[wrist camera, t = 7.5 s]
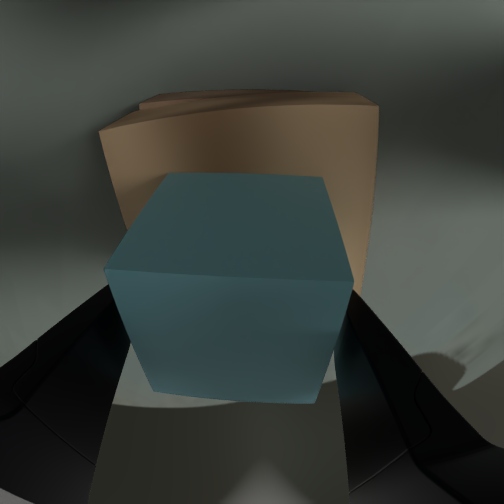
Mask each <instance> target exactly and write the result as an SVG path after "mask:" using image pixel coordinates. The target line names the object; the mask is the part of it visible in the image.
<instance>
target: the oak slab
mask: <svg viewBox="0 0 504 504" xmlns="http://www.w3.org/2000/svg"><path fill="white" fill-rule="evenodd" d="M378 127H379V106H378V105H376V104H375V103H373V102H371V101H370V100H368V99H366V98H365V97H363V96H361V95H359V94H358V93H356V92H287V93H267V94H253V95H241V96H230V97H221V98H212V99H204V100H197V101H190V102H183V103H177V104H171V105H165V106H160V107H154V108H149V109H144V110H139V111H134V112H131V113H130V114H128V115H126V116H124V117H122V118H121V119H119V120H117V121H115V122H114V123H112V124H110V125H108V126H107V127H105V128H103V129H102V130H100V131H99V135H100V139H101V143H102V147H103V151H104V154H105V158H106V162H107V166H108V169H109V173H110V177H111V180H112V184H113V187H114V190H115V194H116V197H117V200H118V204H119V207H120V210H121V213H122V216H123V220H124V223H125V226H126V229H127V231H128V230H129V228H130V227H131V225H132V224H133V222H134V221H135V219H136V218H137V216H138V215H139V213H140V212H141V211H142V209H143V208H144V206H145V205H146V203H147V202H148V200H149V199H150V198H151V196H152V195H153V193H154V192H155V191H156V189H157V188H158V187H159V185H160V184H161V182H162V181H163V180H164V178H165V177H166V176H167V174H168V173H251V174H277V175H297V176H313V177H323V180H324V183H325V186H326V189H327V192H328V195H329V198H330V201H331V204H332V207H333V210H334V214H335V217H336V220H337V223H338V226H339V230H340V233H341V236H342V239H343V243H344V246H345V250H346V253H347V256H348V260H349V264H350V267H351V271H352V274H353V278H354V285H353V289H354V290H355V291H356V292H357V294H358V295H359V296H360V294H361V288H362V282H363V276H364V270H365V263H366V257H367V250H368V242H369V235H370V227H371V219H372V210H373V200H374V189H375V178H376V165H377V149H378Z"/></svg>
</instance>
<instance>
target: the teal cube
mask: <svg viewBox="0 0 504 504" xmlns="http://www.w3.org/2000/svg"><path fill="white" fill-rule="evenodd" d="M104 272H105V275H106V277H107V280H108V283H109V286H110V289H111V292H112V295H113V297H114V300H115V303H116V305H117V308H118V311H119V313H120V316H121V319H122V321H123V324H124V326H125V329H126V331H127V333H128V336H129V338H130V341H131V343H132V345H133V348H134V350H135V352H136V355H137V357H138V359H139V362H140V364H141V366H142V368H143V370H144V373H145V375H146V377H147V379H148V381H149V383H150V385H151V387H152V389H153V391H155V392H161V393H168V394H175V395H182V396H191V397H199V398H209V399H219V400H231V401H246V402H265V403H315V400H316V397H317V395H318V392H319V390H320V387H321V384H322V382H323V379H324V376H325V373H326V371H327V368H328V365H329V362H330V359H331V356H332V353H333V350H334V347H335V344H336V341H337V338H338V335H339V332H340V329H341V326H342V323H343V319H344V316H345V313H346V310H347V306H348V303H349V299H350V296H351V293H352V289H353V285H354V278H353V274H352V271H351V267H350V264H349V260H348V256H347V253H346V250H345V246H344V243H343V239H342V236H341V233H340V230H339V226H338V223H337V220H336V217H335V214H334V210H333V207H332V204H331V201H330V198H329V195H328V192H327V189H326V186H325V183H324V180H323V177H313V176H297V175H277V174H251V173H168V174H167V176H166V177H165V178H164V180H163V181H162V182H161V184H160V185H159V187H158V188H157V189H156V191H155V192H154V193H153V195H152V196H151V198H150V199H149V200H148V202H147V203H146V205H145V206H144V208H143V209H142V211H141V212H140V213H139V215H138V216H137V218H136V219H135V221H134V222H133V224H132V225H131V227H130V228H129V230H128V231H127V233H126V234H125V236H124V237H123V239H122V240H121V242H120V243H119V245H118V247H117V248H116V250H115V251H114V253H113V255H112V256H111V258H110V259H109V261H108V263H107V264H106V266H105V267H104Z"/></svg>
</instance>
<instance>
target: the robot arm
mask: <svg viewBox="0 0 504 504" xmlns="http://www.w3.org/2000/svg"><path fill="white" fill-rule="evenodd" d="M130 343H131V341H130V338H129V336H128V333H127V331H126V329H125V326H124V324H123V321H122V319H121V316H120V313H119V311H118V308H117V305H116V303H115V300H114V297H113V295H112V292H111V289H110V286H109V284H108V285H107V286H105V287H104V288H103V289H101V290H100V291H99V292H97V293H96V294H95V295H93V296H92V297H91V298H89V299H88V300H87V301H85V302H84V303H83V304H81V305H80V306H79V307H77V308H76V309H75V310H73V311H72V312H71V313H70V314H68V315H67V316H66V317H64V318H63V319H62V320H61V321H59V322H58V323H57V324H56V325H54V326H53V327H52V328H50V329H49V330H48V331H47V332H45V333H44V334H43V335H42V336H40V337H39V338H38V340H35V341H34V342H33V343H32V344H30V345H29V346H28V347H27V348H26V349H24V350H23V351H22V352H20V353H19V354H18V355H17V356H15V357H14V358H13V359H11V360H10V361H8V362H7V363H6V364H4V365H3V366H2V367H0V504H88V500H89V495H90V490H91V486H92V481H93V477H94V472H95V468H96V466H95V465H96V463H97V458H98V455H99V451H100V447H101V443H102V439H103V435H104V431H105V427H106V423H107V420H108V416H109V413H110V409H111V406H112V402H113V399H114V396H115V392H116V389H117V386H118V382H119V379H120V376H121V373H122V369H123V366H124V363H125V360H126V357H127V354H128V350H129V347H130ZM334 362H335V371H336V378H337V384H338V393H339V400H340V407H341V416H342V425H343V433H344V443H345V453H346V464H347V475H348V486H349V492H350V493H349V502H350V504H504V448H501V447H498V446H495V445H493V444H491V443H490V442H488V441H487V440H485V439H484V438H483V437H482V436H481V435H480V434H479V433H478V432H477V431H476V430H475V429H474V428H473V427H472V426H471V425H470V424H469V423H468V422H467V421H466V420H465V418H464V417H462V415H461V414H460V413H459V412H458V411H457V410H456V409H455V408H454V407H453V406H452V405H451V404H450V403H449V402H448V401H447V400H446V398H445V397H444V396H443V395H442V394H441V393H440V392H439V390H438V389H437V388H436V387H435V386H434V384H433V383H432V382H431V381H430V379H429V378H428V377H427V376H426V375H425V373H424V372H422V370H421V368H420V367H419V366H418V365H417V363H416V362H415V361H414V360H413V359H412V357H411V356H410V355H409V354H408V352H407V351H406V350H405V349H404V348H403V346H402V345H401V344H400V343H399V342H398V340H397V339H396V338H395V337H394V336H393V334H392V333H391V332H390V331H389V330H388V328H387V327H386V326H385V325H384V324H383V323H382V321H381V320H380V319H379V318H378V317H377V315H376V314H375V313H374V312H373V311H372V310H371V308H370V307H369V306H368V305H367V304H366V303H365V302H364V300H363V299H362V298H361V297H360V296H359V295H358V294H357V292H356V291H355V290H354V289H352V293H351V296H350V299H349V303H348V306H347V310H346V313H345V316H344V319H343V323H342V326H341V329H340V332H339V335H338V338H337V341H336V344H335V347H334ZM421 372H422V373H421Z"/></svg>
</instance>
